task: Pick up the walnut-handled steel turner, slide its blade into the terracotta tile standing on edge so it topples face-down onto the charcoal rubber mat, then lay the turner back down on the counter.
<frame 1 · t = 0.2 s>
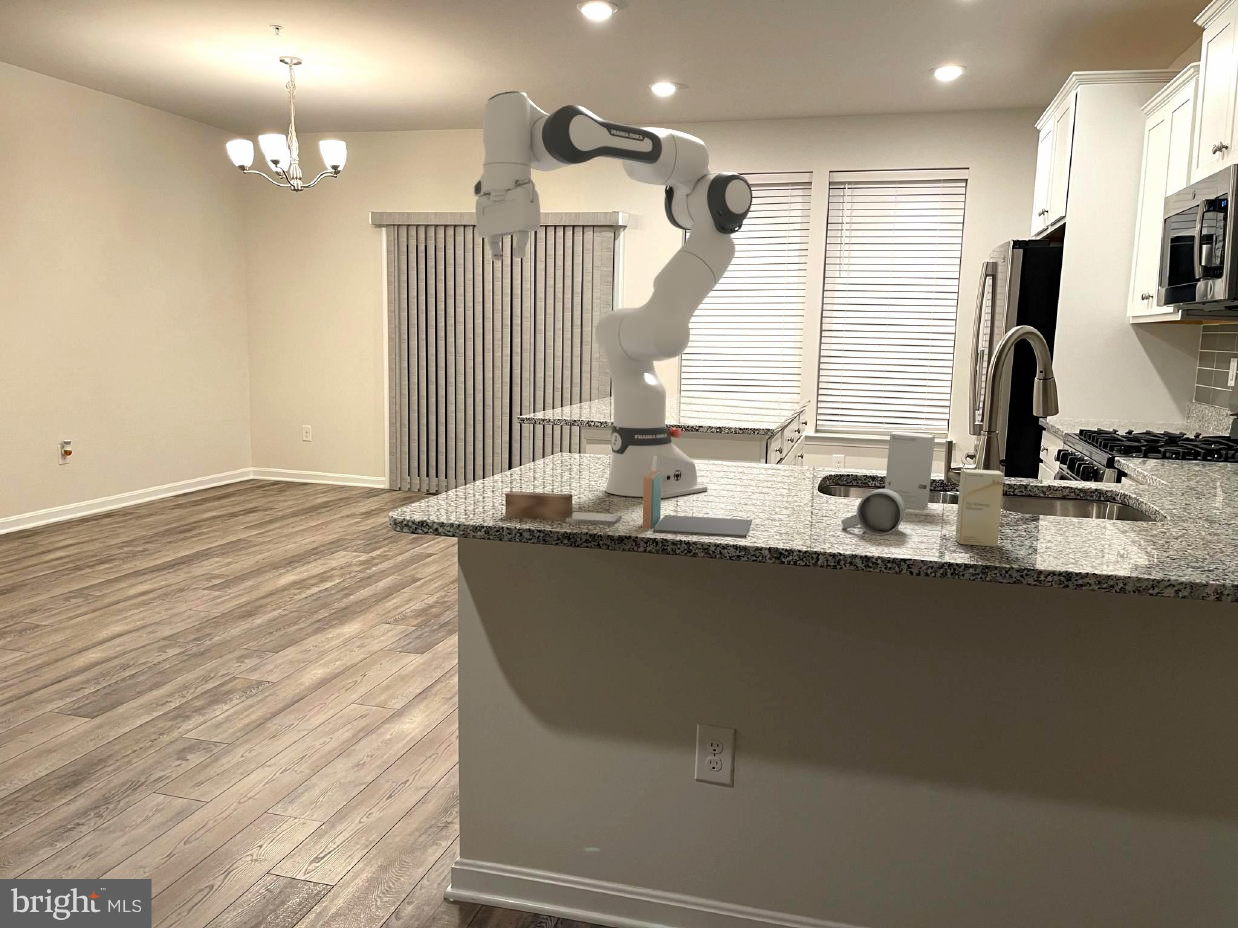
hand: (507, 259, 170), 47 cm above the countertop, tool pointing down, fingers open, 8 cm apart
tile: (650, 523, 162), on the countertop
skincare box: (976, 544, 150), on the countertop
turner: (538, 517, 167), on the countertop
skincare box 2: (906, 507, 181), on the countertop
mat: (703, 526, 160), on the countertop
ceramic mug: (872, 532, 159), on the countertop
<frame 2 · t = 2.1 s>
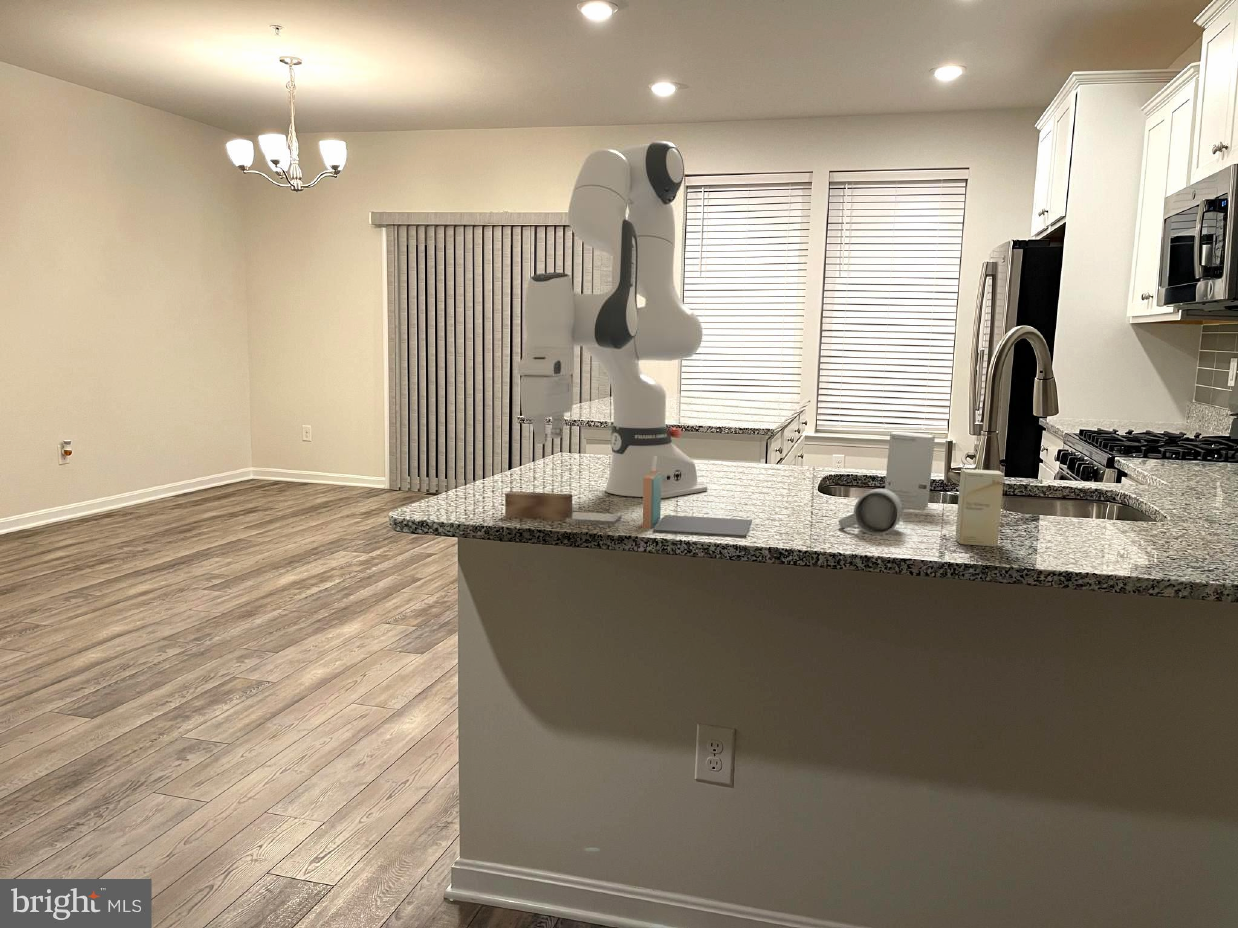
hand: (548, 440, 164), 14 cm above the countertop, tool pointing down, fingers open, 8 cm apart
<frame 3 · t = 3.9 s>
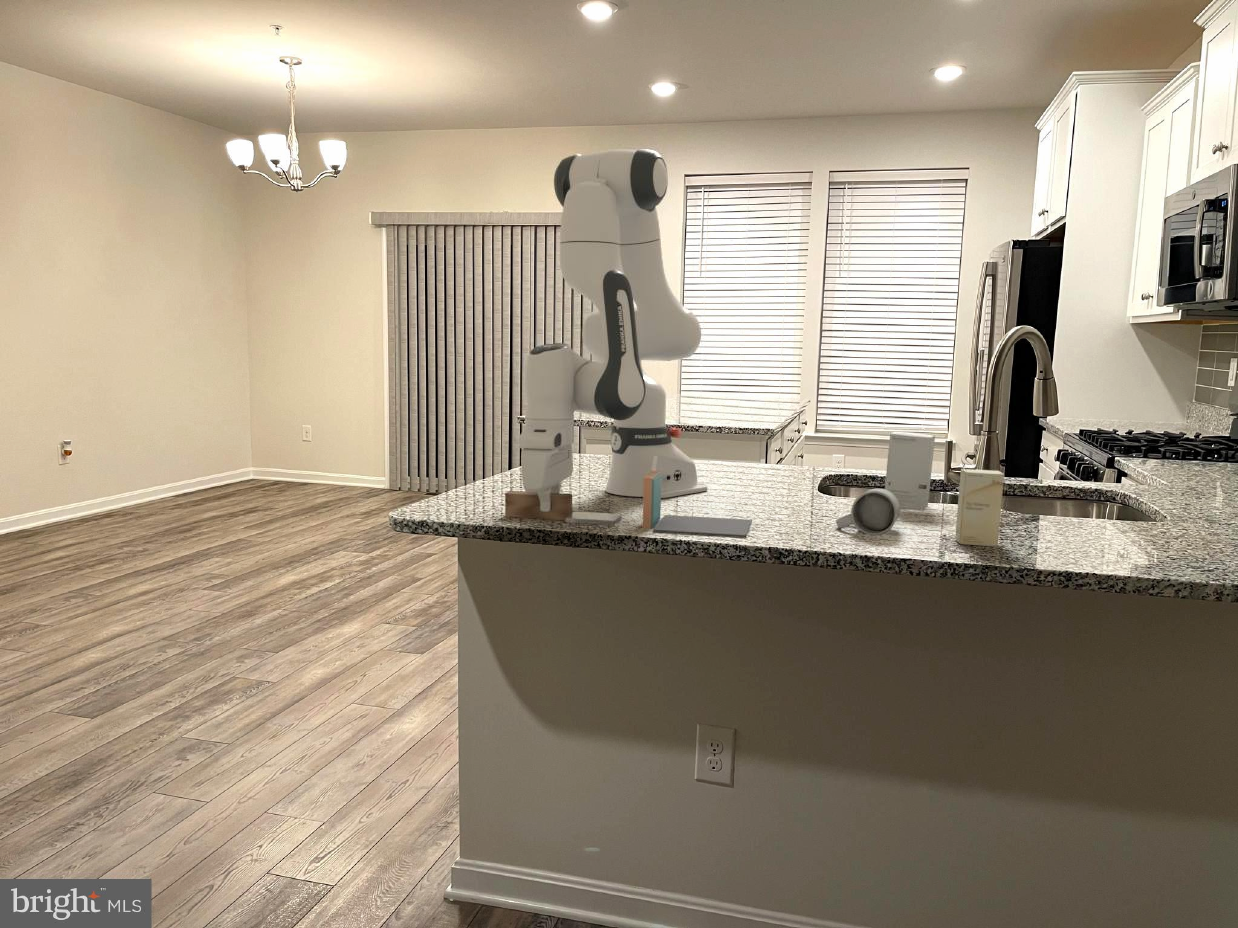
hand: (549, 508, 166), 2 cm above the countertop, tool pointing down, fingers closed on turner, 3 cm apart
turner: (538, 517, 167), on the countertop, touching gripper
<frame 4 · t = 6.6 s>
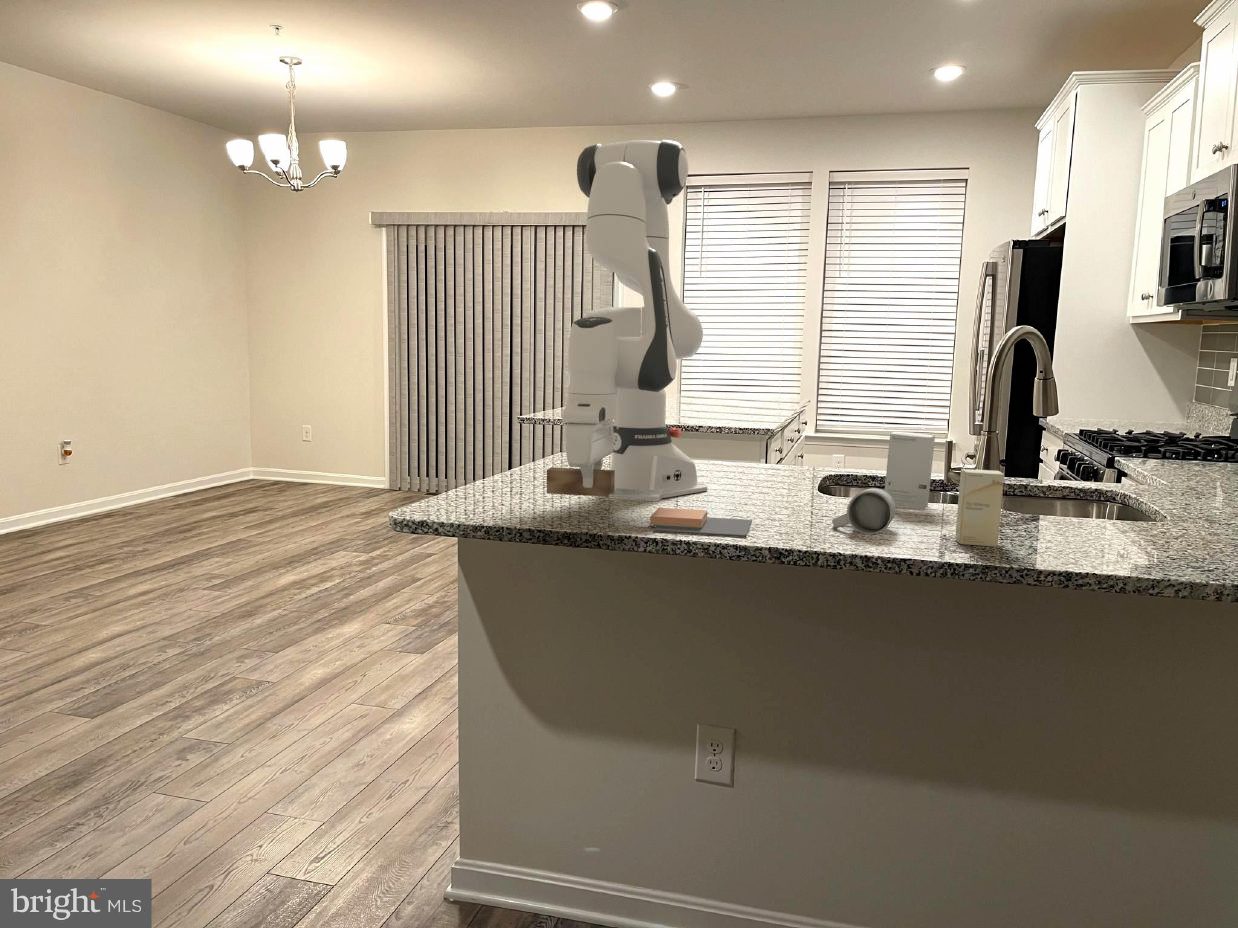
hand: (591, 485, 164), 6 cm above the countertop, tool pointing down, fingers closed on turner, 3 cm apart
tile: (654, 515, 162), point 1 cm above the countertop, tilted 90°, touching mat
turner: (580, 493, 164), point 5 cm above the countertop, touching gripper
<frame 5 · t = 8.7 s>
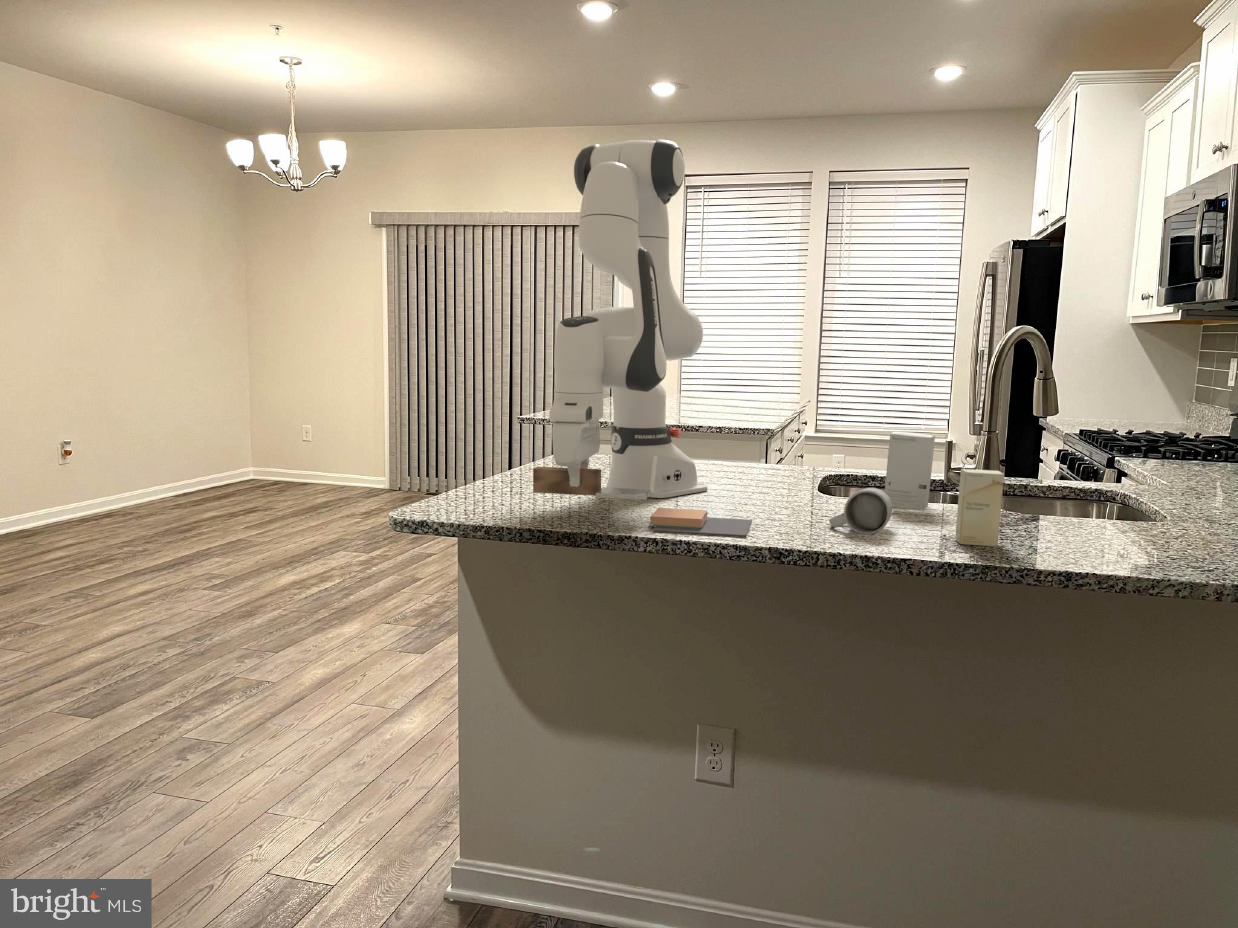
hand: (578, 484, 164), 7 cm above the countertop, tool pointing down, fingers closed on turner, 3 cm apart
turner: (567, 492, 165), point 5 cm above the countertop, touching gripper
when the fingers open (3 cm above the countertop, at t = 10.2 s): turner drops 1 cm, on the countertop.
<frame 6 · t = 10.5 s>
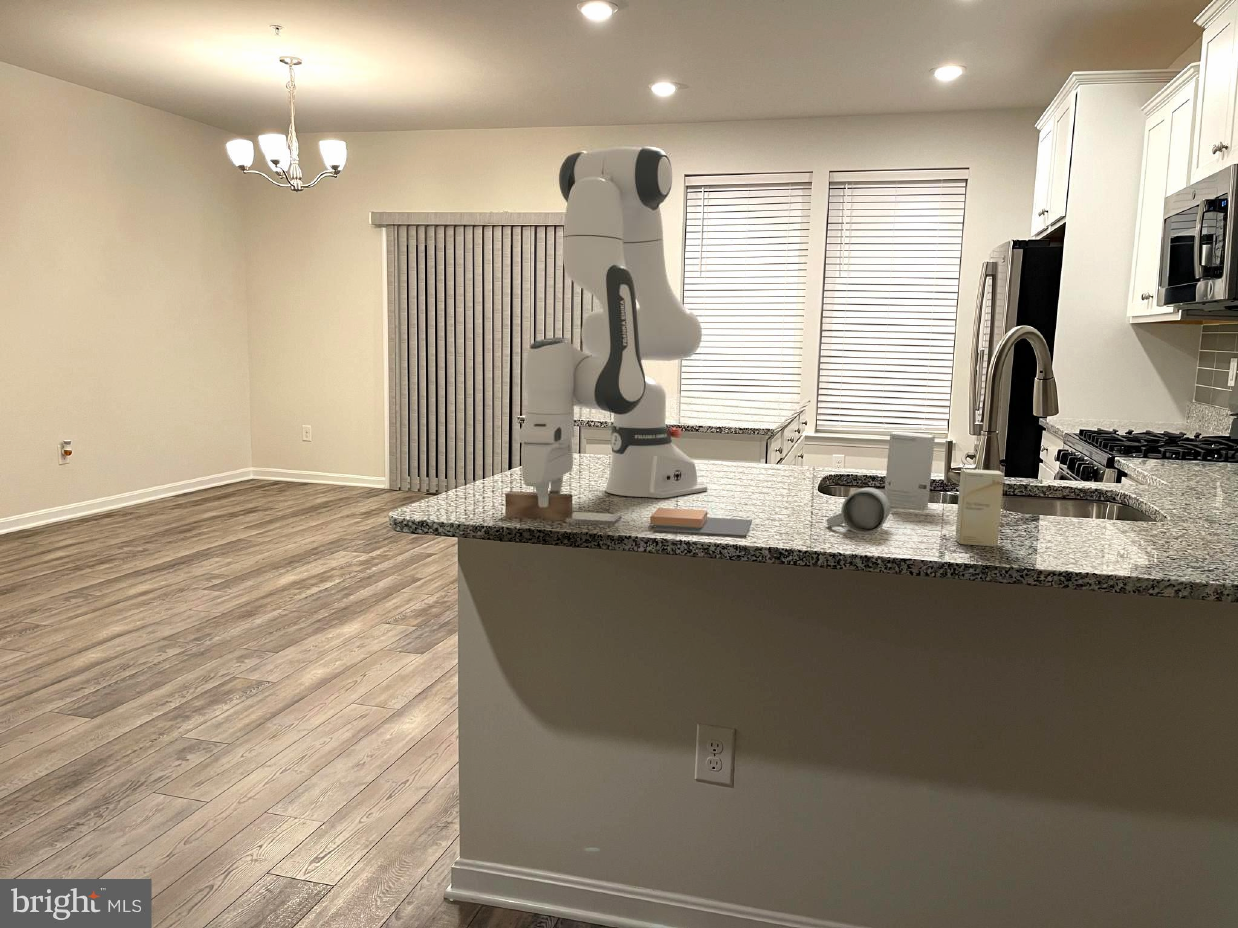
hand: (549, 503, 166), 3 cm above the countertop, tool pointing down, fingers open, 5 cm apart
turner: (538, 517, 167), on the countertop
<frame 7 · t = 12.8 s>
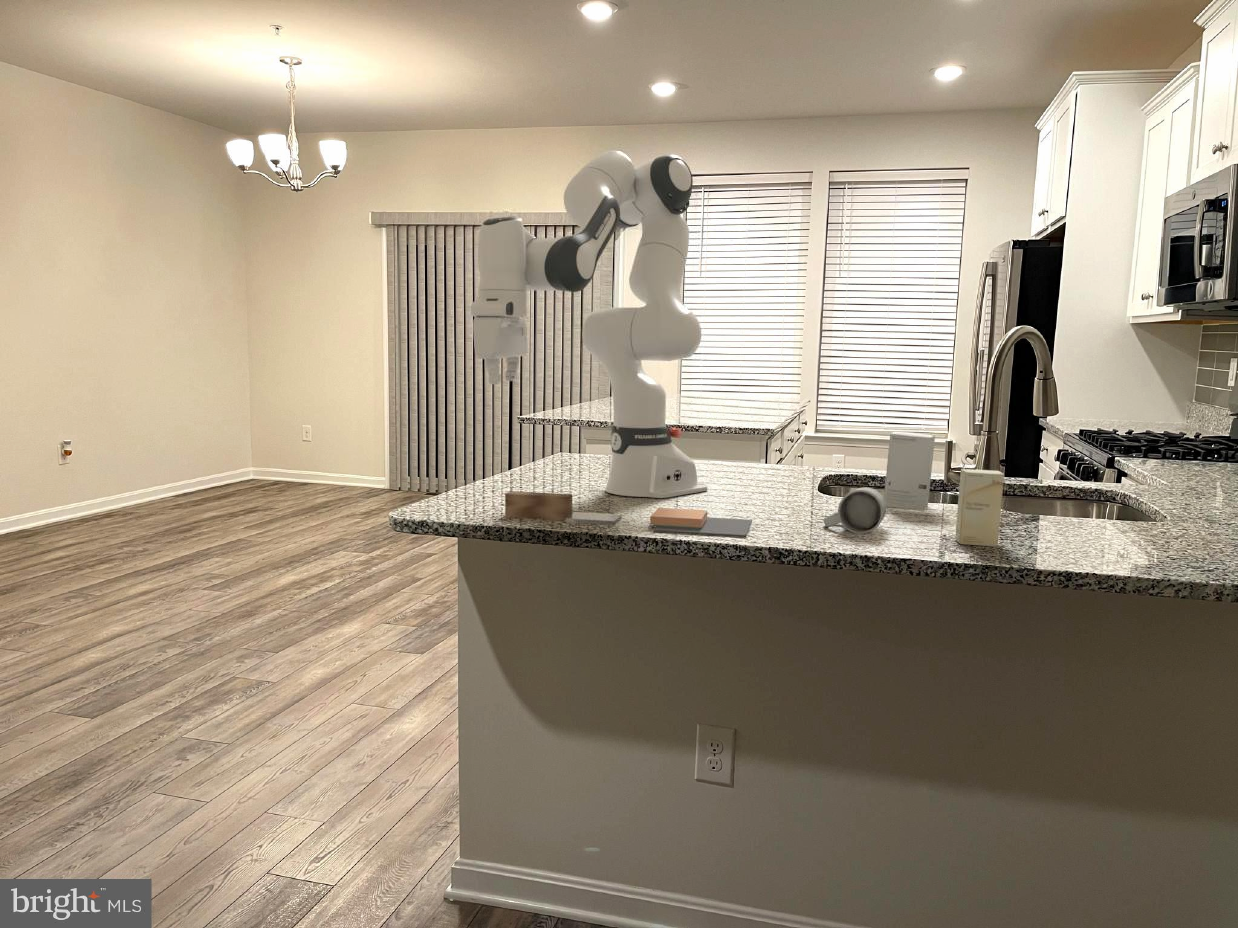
hand: (503, 382, 168), 24 cm above the countertop, tool pointing down, fingers open, 8 cm apart
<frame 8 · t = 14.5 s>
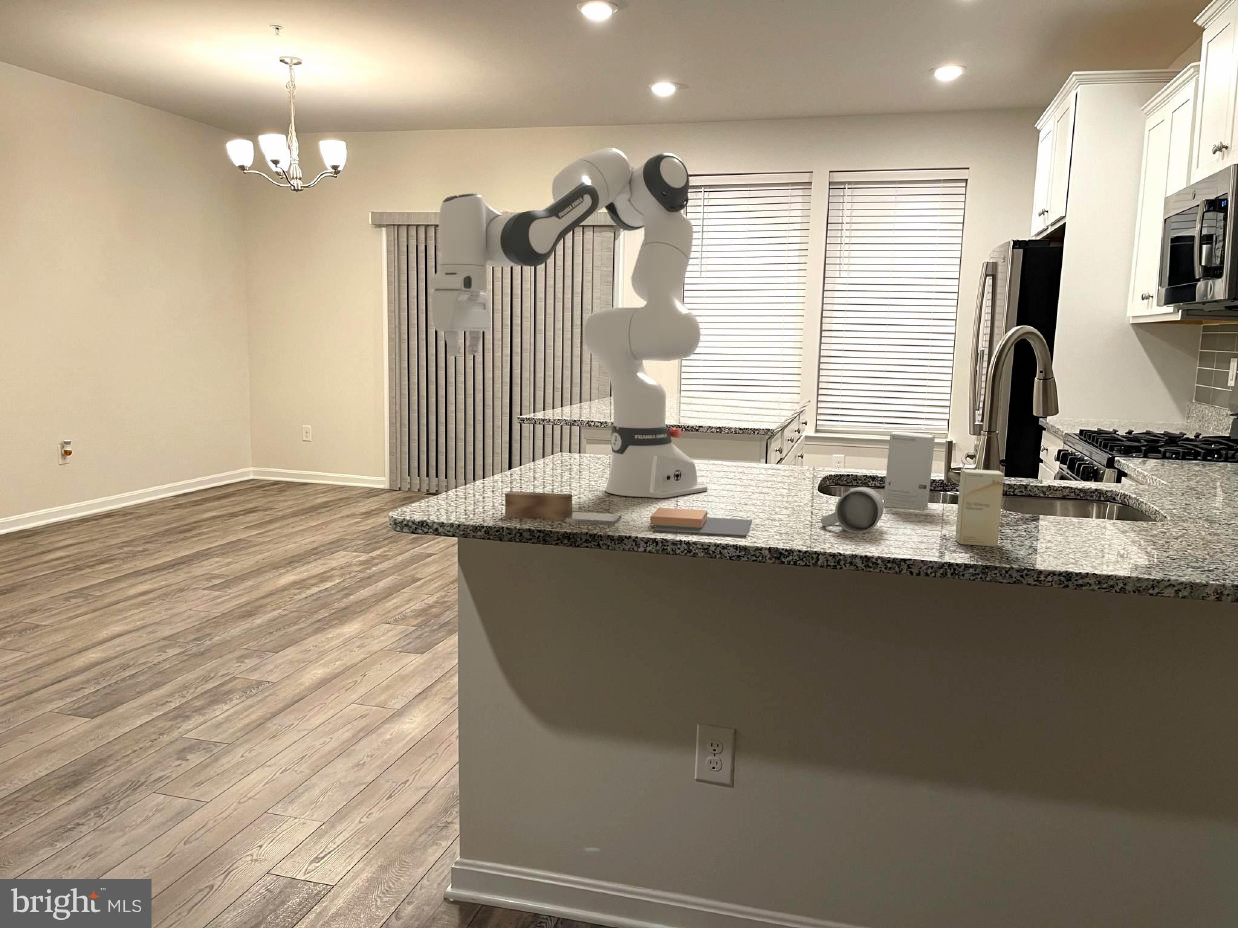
hand: (464, 355, 173), 29 cm above the countertop, tool pointing down, fingers open, 8 cm apart
at the end: tile tilted 90°; tile touching mat; turner touching countertop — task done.
